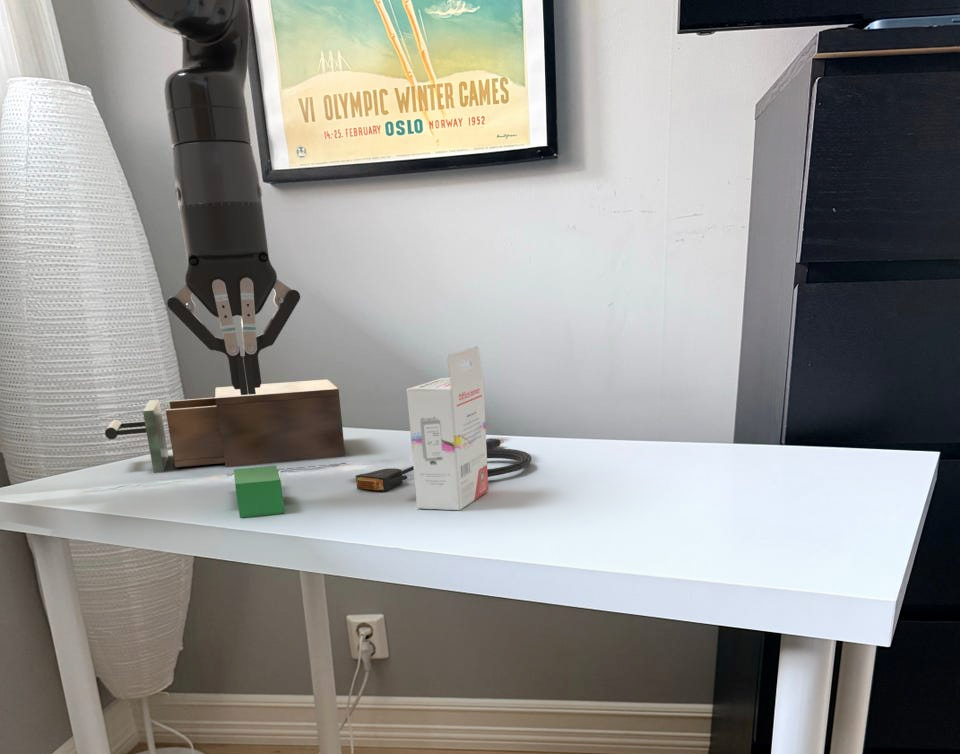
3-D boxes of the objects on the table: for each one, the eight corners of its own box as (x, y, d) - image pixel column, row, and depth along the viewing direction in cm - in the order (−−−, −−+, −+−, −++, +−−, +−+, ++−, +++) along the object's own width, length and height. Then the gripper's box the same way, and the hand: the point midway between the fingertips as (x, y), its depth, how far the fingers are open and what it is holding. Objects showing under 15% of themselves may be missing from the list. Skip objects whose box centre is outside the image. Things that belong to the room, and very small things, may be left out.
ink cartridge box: (446, 490, 99) (437, 346, 94) (489, 491, 97) (483, 345, 92) (413, 509, 92) (401, 354, 86) (460, 511, 90) (451, 353, 84)
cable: (583, 452, 116) (583, 439, 115) (453, 501, 94) (452, 486, 94) (492, 445, 123) (491, 434, 122) (352, 489, 101) (350, 476, 101)
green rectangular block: (239, 518, 92) (234, 484, 90) (238, 501, 99) (233, 469, 98) (284, 513, 93) (280, 479, 91) (280, 496, 100) (276, 465, 99)
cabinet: (226, 474, 113) (215, 398, 109) (225, 457, 124) (215, 387, 121) (346, 463, 116) (338, 388, 113) (334, 447, 127) (327, 379, 124)
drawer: (110, 477, 110) (98, 414, 107) (119, 460, 120) (109, 403, 118) (268, 462, 114) (260, 401, 111) (263, 447, 124) (256, 392, 122)
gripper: (289, 202, 90) (311, 384, 97) (148, 207, 87) (180, 395, 94) (296, 195, 84) (318, 392, 90) (142, 201, 81) (177, 404, 87)
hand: (247, 393), depth 92 cm, fingers closed
